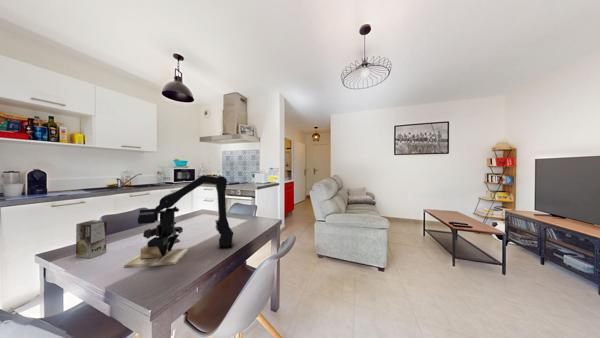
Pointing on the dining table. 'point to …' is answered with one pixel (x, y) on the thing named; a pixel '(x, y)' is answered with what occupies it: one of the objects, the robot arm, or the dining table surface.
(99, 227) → the coffee box
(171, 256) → the birch board
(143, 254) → the block
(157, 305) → the dining table surface
